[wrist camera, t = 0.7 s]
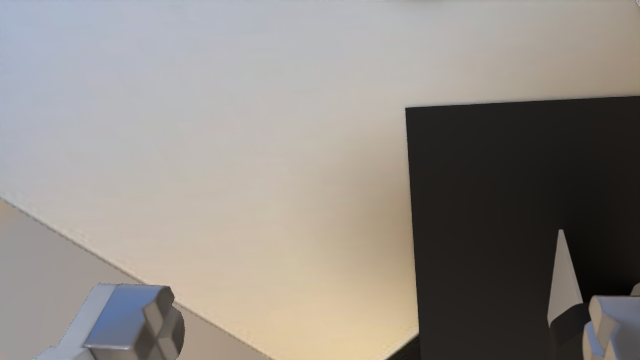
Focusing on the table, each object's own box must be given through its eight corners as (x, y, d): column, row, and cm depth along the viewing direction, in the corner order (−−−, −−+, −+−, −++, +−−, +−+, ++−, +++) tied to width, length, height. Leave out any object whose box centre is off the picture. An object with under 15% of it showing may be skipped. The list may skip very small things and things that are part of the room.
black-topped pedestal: (760, 400, 46) (860, 597, 35) (422, 385, 51) (422, 554, 40) (928, 79, 29) (1207, 271, 19) (405, 106, 35) (396, 268, 24)
